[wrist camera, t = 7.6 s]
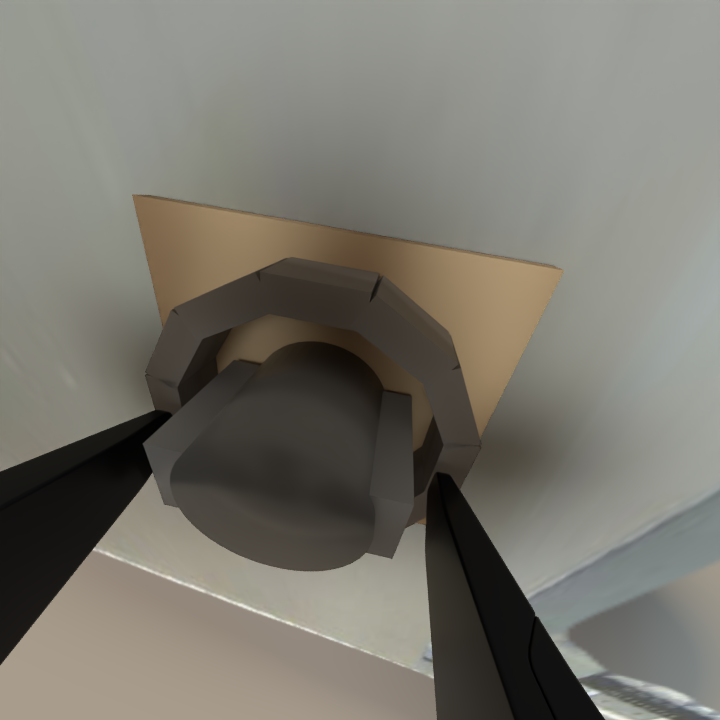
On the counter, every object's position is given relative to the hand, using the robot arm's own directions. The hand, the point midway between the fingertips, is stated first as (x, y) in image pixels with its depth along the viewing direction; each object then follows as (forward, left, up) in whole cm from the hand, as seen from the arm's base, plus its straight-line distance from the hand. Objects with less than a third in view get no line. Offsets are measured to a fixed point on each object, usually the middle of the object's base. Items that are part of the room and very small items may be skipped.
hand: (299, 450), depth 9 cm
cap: (0, 0, -2) cm, 2 cm away
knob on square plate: (0, 0, -3) cm, 3 cm away
